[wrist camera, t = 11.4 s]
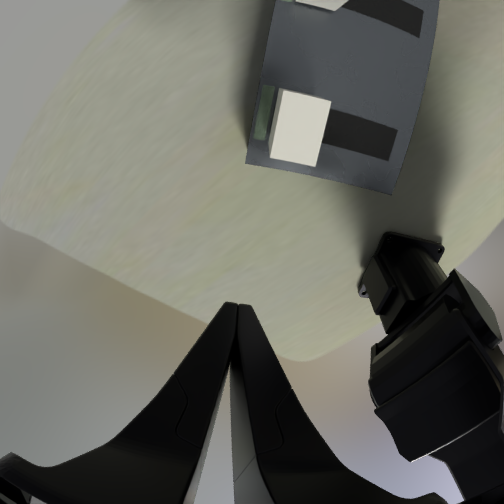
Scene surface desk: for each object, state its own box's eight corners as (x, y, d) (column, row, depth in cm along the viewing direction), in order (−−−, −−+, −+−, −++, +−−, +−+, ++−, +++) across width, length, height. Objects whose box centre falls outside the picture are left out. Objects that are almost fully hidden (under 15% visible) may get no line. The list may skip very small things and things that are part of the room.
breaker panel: (417, 0, 11) (440, -7, 8) (375, 178, 19) (391, 195, 16) (285, -44, 10) (289, -62, 8) (247, 150, 18) (245, 163, 16)
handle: (317, 96, 13) (331, 101, 10) (305, 149, 15) (315, 166, 12) (279, 87, 13) (283, 90, 10) (268, 142, 14) (269, 157, 12)
